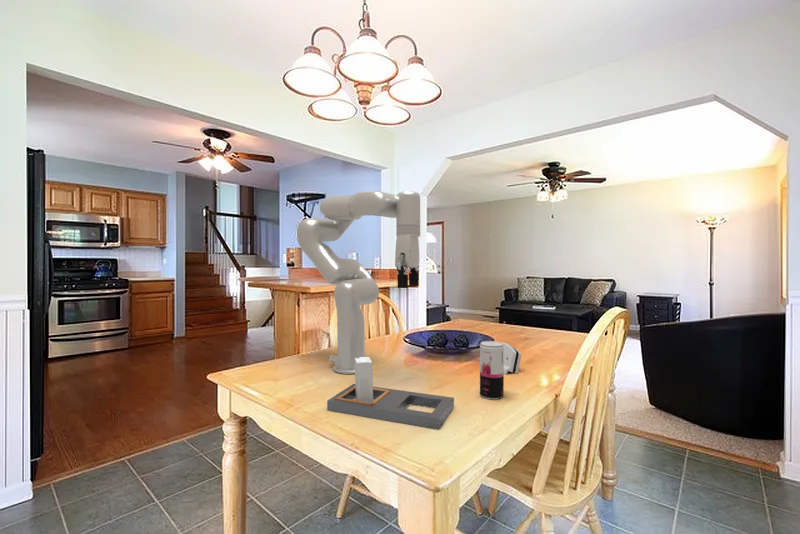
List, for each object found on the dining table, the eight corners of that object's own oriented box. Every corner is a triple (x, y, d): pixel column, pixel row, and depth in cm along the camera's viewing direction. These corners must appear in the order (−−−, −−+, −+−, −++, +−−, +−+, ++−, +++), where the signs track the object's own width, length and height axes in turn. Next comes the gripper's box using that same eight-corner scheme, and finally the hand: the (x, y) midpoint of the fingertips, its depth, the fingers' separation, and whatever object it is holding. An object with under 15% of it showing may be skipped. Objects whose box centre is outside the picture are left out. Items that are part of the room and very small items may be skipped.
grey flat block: (327, 410, 98) (327, 399, 98) (353, 392, 111) (353, 383, 111) (439, 429, 87) (439, 417, 87) (453, 407, 100) (453, 396, 100)
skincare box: (374, 407, 100) (373, 361, 100) (356, 409, 99) (356, 363, 99) (370, 399, 106) (370, 355, 106) (354, 400, 105) (354, 356, 105)
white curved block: (478, 362, 143) (486, 336, 144) (488, 365, 144) (496, 339, 145) (506, 375, 127) (514, 346, 128) (516, 378, 129) (525, 349, 130)
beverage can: (487, 401, 104) (487, 346, 104) (475, 392, 110) (475, 341, 110) (508, 398, 106) (508, 345, 106) (495, 390, 112) (496, 340, 112)
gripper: (407, 233, 128) (407, 284, 128) (386, 230, 112) (386, 288, 112) (428, 233, 125) (428, 285, 126) (409, 229, 109) (410, 289, 110)
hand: (408, 286), depth 119 cm, fingers open, 9 cm apart
